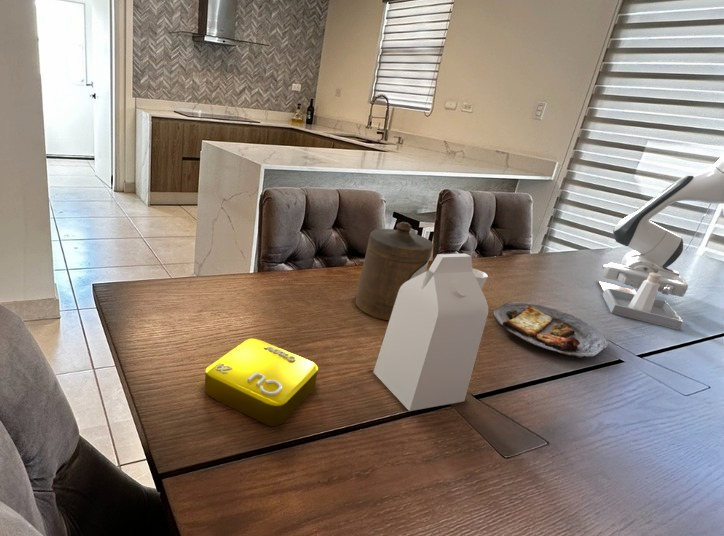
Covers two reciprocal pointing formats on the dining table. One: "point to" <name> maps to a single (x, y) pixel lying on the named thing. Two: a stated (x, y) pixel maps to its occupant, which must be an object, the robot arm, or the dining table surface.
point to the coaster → (616, 287)
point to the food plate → (550, 329)
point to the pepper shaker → (646, 293)
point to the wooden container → (390, 267)
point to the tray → (658, 314)
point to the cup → (480, 277)
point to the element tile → (261, 381)
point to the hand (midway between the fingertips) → (646, 286)
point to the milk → (434, 335)
